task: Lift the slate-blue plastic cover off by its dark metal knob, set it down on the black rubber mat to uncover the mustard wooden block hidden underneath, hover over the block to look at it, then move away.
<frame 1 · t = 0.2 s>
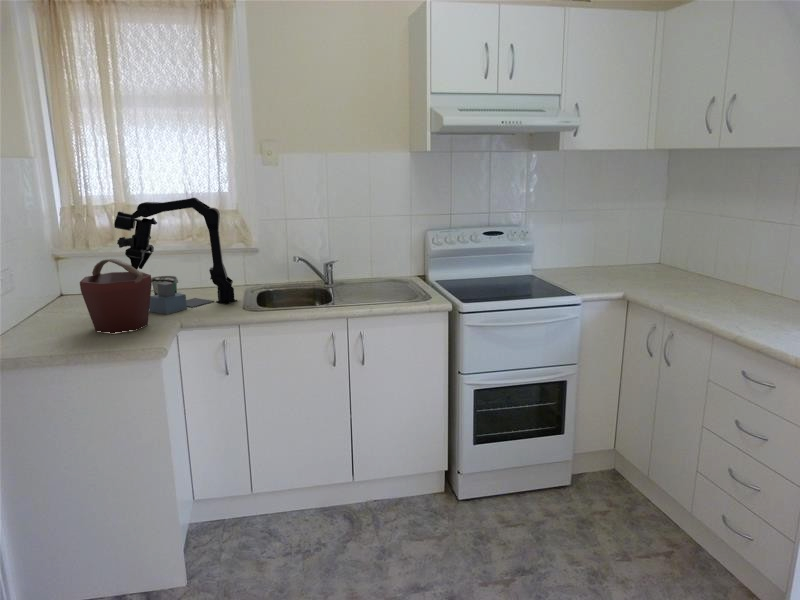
hand: (137, 270, 235), 15 cm above the worktop, tool pointing down, fingers open, 9 cm apart
mat: (193, 303, 244), on the worktop
cover: (168, 310, 233), on the worktop
bucket: (120, 328, 208), on the worktop
food container: (169, 299, 251), on the worktop
block: (167, 305, 232), in the cover
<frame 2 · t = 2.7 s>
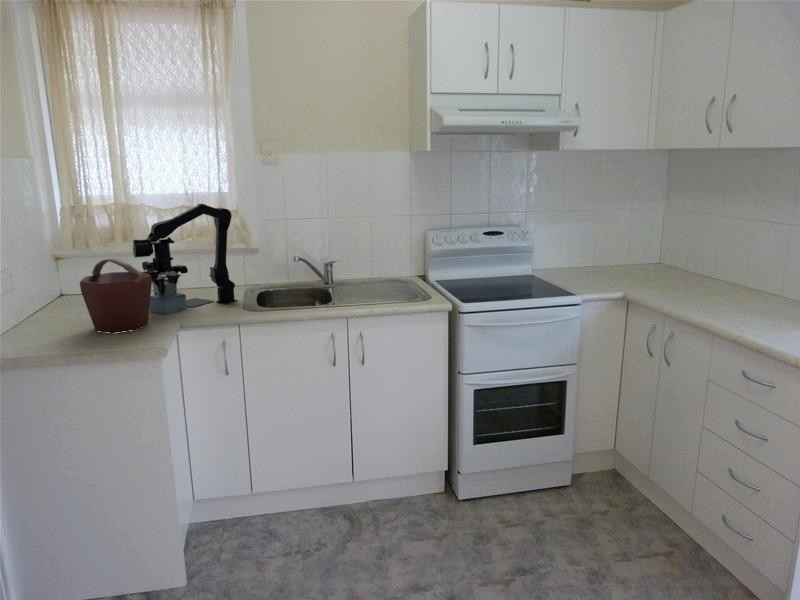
hand: (166, 293, 231), 7 cm above the worktop, tool pointing down, fingers closed on cover, 4 cm apart
cover: (168, 310, 233), on the worktop, touching gripper
everything else where it was.
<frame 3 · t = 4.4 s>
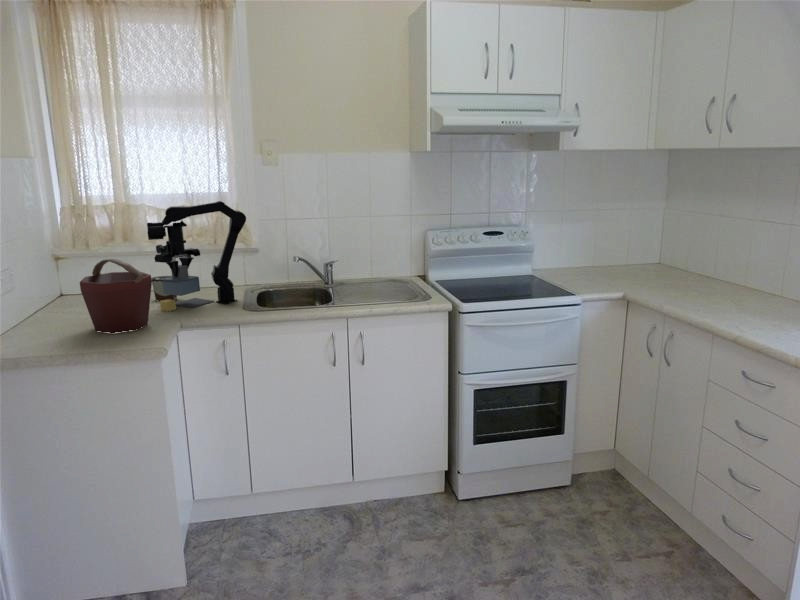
hand: (180, 276, 236), 13 cm above the worktop, tool pointing down, fingers closed on cover, 4 cm apart
cover: (182, 292, 237), point 6 cm above the worktop, touching gripper
everything else where it was.
when the fingers open (8 cm above the worktop, at t = 6.4 s): cover stays where it is, resting on mat.
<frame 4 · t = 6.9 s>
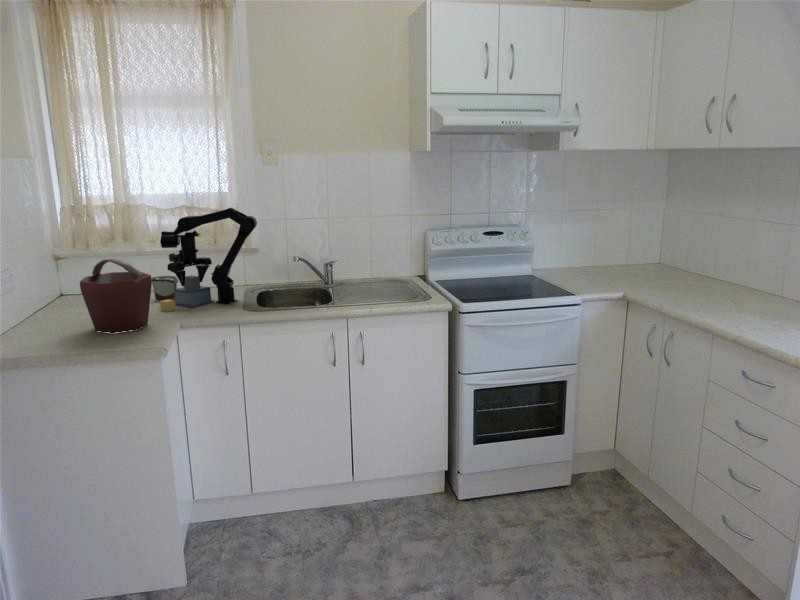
hand: (192, 284, 242), 8 cm above the worktop, tool pointing down, fingers open, 9 cm apart
cover: (193, 302, 244), resting on mat
everything else where it was.
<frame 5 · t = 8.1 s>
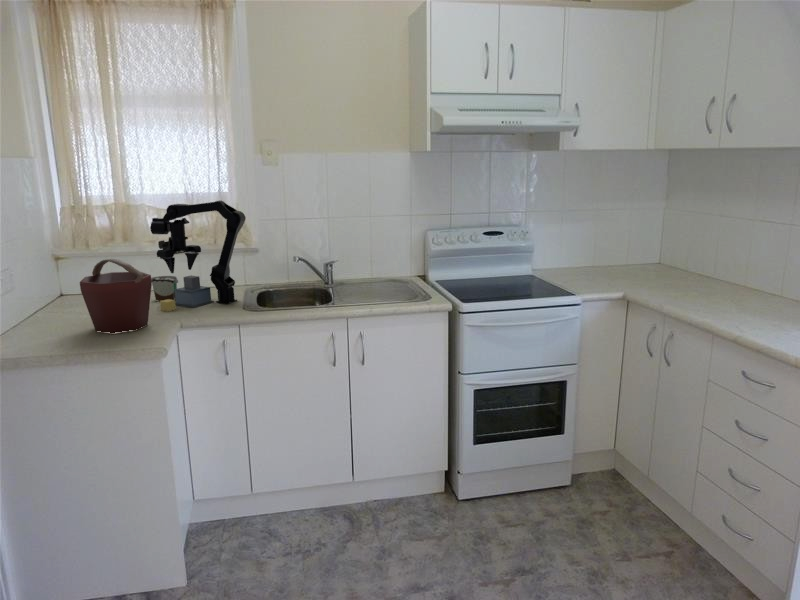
hand: (181, 271, 243), 13 cm above the worktop, tool pointing down, fingers open, 9 cm apart
nothing on the worktop moved.
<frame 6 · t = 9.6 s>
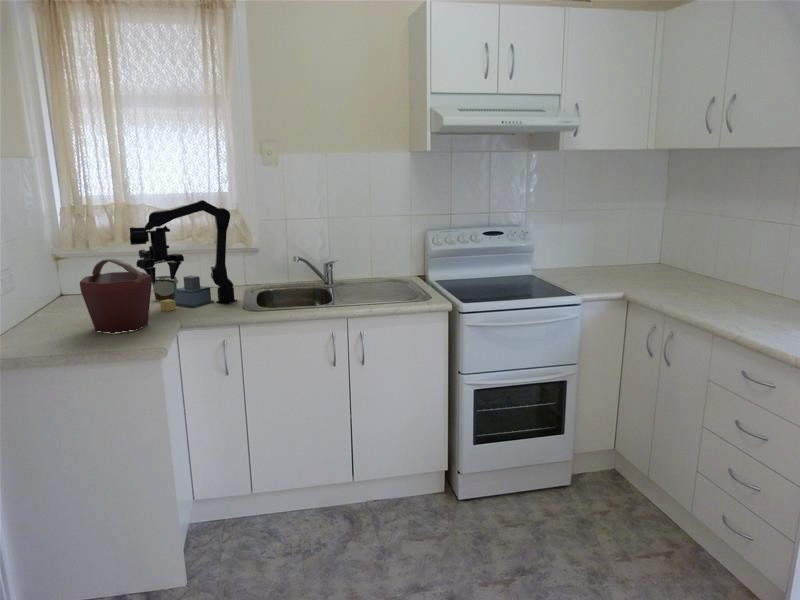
hand: (163, 281, 234), 11 cm above the worktop, tool pointing down, fingers open, 9 cm apart
nothing on the worktop moved.
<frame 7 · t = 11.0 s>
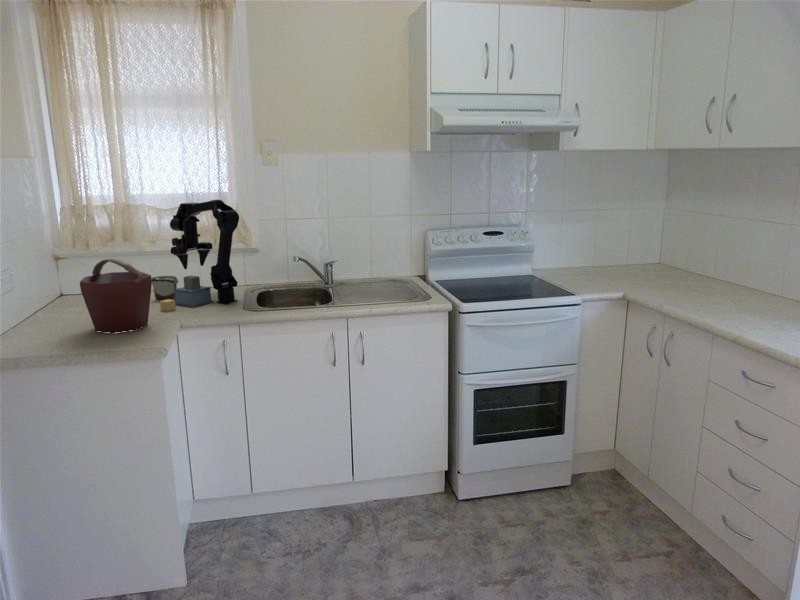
hand: (193, 267, 253), 13 cm above the worktop, tool pointing down, fingers open, 9 cm apart
nothing on the worktop moved.
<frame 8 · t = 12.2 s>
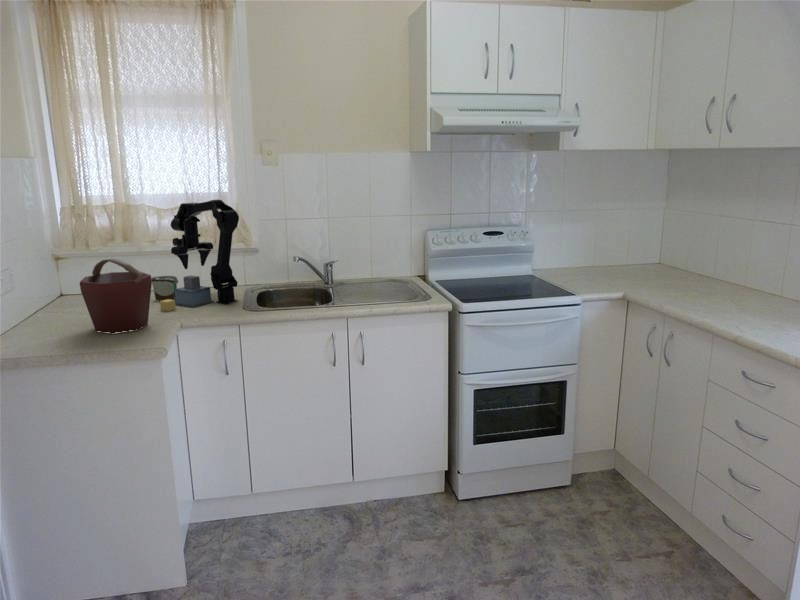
hand: (194, 267, 253), 13 cm above the worktop, tool pointing down, fingers open, 9 cm apart
nothing on the worktop moved.
at the end: cover inside the target area (0.0 cm from its centre), resting on mat; cover tilted 0° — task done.
